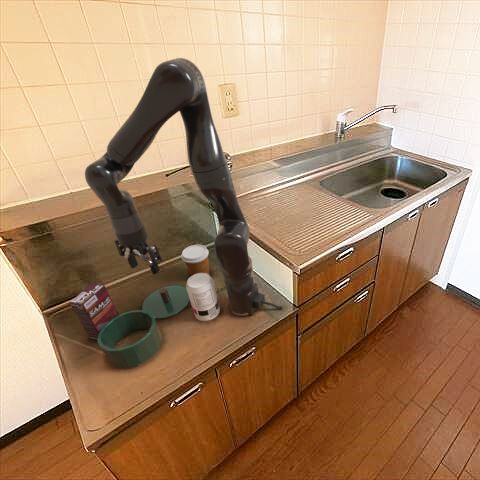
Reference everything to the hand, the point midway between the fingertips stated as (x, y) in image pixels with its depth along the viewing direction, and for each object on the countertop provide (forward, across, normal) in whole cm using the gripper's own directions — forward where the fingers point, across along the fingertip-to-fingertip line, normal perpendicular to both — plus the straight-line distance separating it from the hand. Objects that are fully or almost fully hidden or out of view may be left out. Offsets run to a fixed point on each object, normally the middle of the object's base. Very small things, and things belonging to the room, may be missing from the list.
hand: (145, 269), depth 100 cm
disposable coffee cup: (+17, +3, +18) cm, 25 cm away
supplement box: (+17, -9, -14) cm, 23 cm away
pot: (+17, +5, -16) cm, 24 cm away
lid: (+16, +1, +2) cm, 16 cm away
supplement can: (+17, +17, +3) cm, 24 cm away
